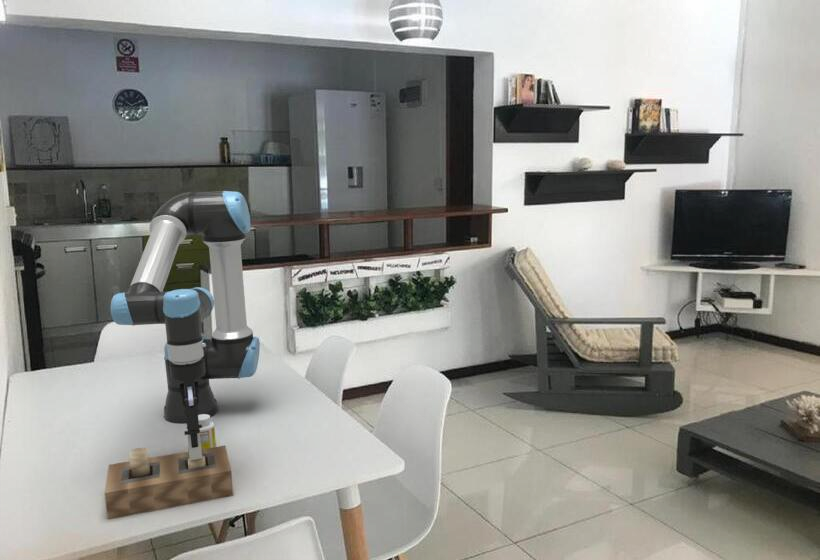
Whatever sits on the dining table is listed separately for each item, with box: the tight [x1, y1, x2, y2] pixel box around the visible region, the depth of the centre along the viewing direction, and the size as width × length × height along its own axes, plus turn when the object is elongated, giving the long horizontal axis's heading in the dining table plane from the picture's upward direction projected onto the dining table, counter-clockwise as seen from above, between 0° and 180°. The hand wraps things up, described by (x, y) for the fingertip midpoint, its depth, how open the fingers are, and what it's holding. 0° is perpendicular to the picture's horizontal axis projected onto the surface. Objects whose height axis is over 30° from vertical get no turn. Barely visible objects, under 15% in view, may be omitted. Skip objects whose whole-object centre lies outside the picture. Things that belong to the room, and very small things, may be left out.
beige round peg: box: [128, 447, 150, 479], centre depth 153 cm, size 4×4×6 cm
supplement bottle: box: [198, 414, 217, 449], centre depth 174 cm, size 6×6×10 cm
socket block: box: [104, 445, 234, 520], centre depth 156 cm, size 26×14×6 cm, turn 110°
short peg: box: [188, 456, 206, 469], centre depth 157 cm, size 4×4×6 cm
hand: (195, 458), depth 157 cm, fingers closed
